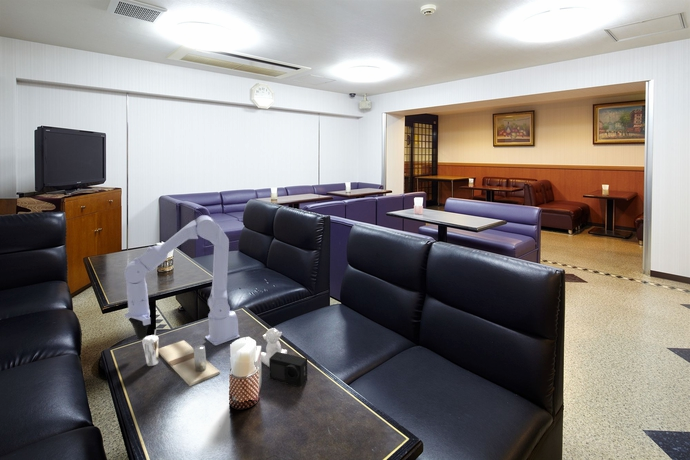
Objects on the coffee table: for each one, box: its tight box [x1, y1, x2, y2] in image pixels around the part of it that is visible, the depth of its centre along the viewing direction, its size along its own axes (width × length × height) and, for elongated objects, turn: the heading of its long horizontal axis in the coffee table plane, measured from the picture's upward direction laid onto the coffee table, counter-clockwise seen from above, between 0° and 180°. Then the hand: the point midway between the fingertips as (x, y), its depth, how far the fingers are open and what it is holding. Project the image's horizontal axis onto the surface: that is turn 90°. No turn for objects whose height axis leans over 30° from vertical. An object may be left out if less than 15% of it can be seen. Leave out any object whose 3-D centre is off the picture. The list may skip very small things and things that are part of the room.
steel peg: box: [193, 344, 207, 372], centre depth 114 cm, size 3×3×7 cm
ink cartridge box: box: [244, 336, 263, 401], centre depth 104 cm, size 9×5×15 cm, turn 5°
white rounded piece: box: [141, 329, 160, 367], centre depth 118 cm, size 5×5×10 cm
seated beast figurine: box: [261, 327, 288, 368], centre depth 119 cm, size 10×9×12 cm
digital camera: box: [269, 352, 308, 388], centre depth 110 cm, size 10×5×7 cm, turn 70°
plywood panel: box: [158, 340, 220, 387], centre depth 119 cm, size 9×26×1 cm, turn 45°
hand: (141, 338), depth 123 cm, fingers closed
